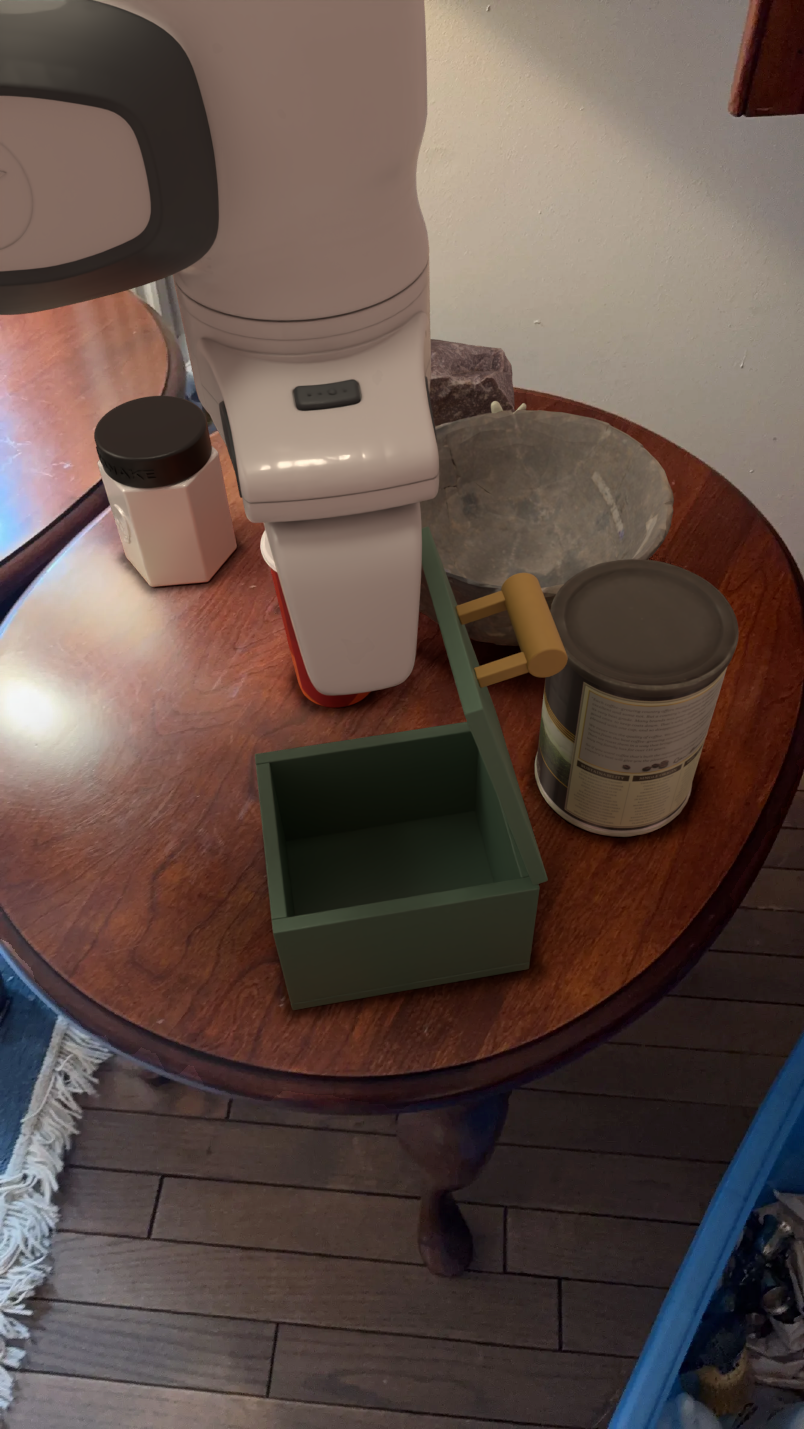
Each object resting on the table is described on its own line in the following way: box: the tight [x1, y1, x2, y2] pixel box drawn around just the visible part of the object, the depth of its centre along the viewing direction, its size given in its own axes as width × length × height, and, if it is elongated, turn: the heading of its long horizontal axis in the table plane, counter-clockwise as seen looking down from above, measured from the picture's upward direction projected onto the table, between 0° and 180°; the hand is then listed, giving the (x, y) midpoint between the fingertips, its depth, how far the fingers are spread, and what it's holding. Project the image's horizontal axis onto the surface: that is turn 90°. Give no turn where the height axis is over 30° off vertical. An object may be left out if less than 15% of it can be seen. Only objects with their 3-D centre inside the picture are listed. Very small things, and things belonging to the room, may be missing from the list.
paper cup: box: [260, 530, 372, 708], centre depth 69 cm, size 8×8×14 cm
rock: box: [429, 338, 516, 427], centre depth 89 cm, size 14×14×15 cm
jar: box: [93, 395, 238, 588], centre depth 79 cm, size 9×8×12 cm
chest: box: [254, 721, 540, 1011], centre depth 59 cm, size 14×12×9 cm
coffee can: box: [534, 559, 740, 838], centre depth 63 cm, size 10×10×14 cm
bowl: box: [419, 409, 675, 647], centre depth 75 cm, size 21×21×10 cm
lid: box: [422, 527, 568, 885], centre depth 50 cm, size 15×12×5 cm
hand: (338, 611), depth 48 cm, fingers closed on block, 4 cm apart
